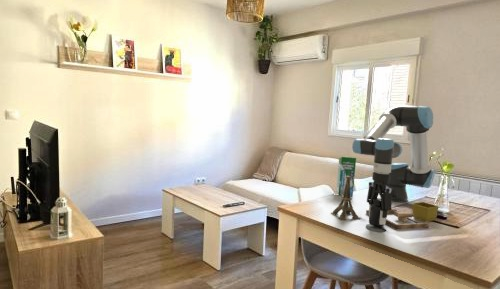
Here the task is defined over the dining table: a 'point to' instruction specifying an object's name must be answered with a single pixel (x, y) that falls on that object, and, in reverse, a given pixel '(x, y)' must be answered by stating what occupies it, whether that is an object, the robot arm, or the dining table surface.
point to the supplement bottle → (375, 212)
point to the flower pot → (424, 211)
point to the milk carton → (345, 174)
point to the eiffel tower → (346, 203)
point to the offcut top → (403, 214)
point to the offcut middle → (402, 220)
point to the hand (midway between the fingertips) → (376, 221)
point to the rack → (403, 226)
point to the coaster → (375, 228)
